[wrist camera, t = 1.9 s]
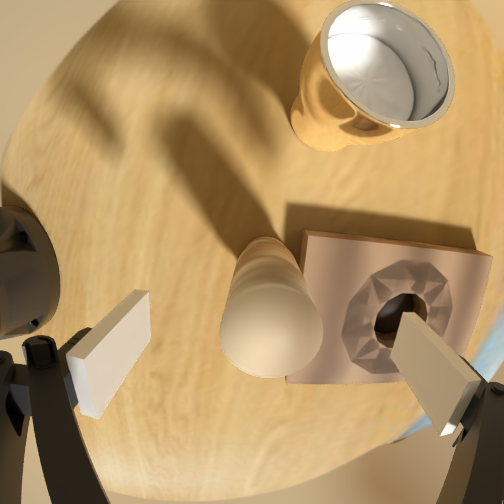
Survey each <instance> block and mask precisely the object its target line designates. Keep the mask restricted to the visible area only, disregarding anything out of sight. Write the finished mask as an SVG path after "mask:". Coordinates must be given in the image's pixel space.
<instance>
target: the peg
mask: <svg viewBox="0 0 504 504" xmlns="http://www.w3.org/2000/svg"><path fill="white" fill-rule="evenodd" d="M219 335H220V343H221V346H222V349H223V351H224V353H225V355H226V357H227V358H228V359H229V360H230V362H231V363H232V364H233V365H235V366H236V367H237V368H238V369H240V370H242V371H243V372H245V373H247V374H250V375H253V376H257V377H262V378H278V377H283V376H287V375H290V374H293V373H295V372H297V371H299V370H300V369H302V368H303V367H305V366H306V365H307V364H308V363H309V362H310V361H312V359H313V358H314V357H315V356H316V354H317V352H318V351H319V348H320V346H321V343H322V340H323V324H322V320H321V317H320V315H319V312H318V310H317V308H316V305H315V303H314V301H313V298H312V296H311V294H310V291H309V289H308V287H307V285H306V282H305V280H304V278H303V276H302V273H301V271H300V269H299V267H298V264H297V262H296V260H295V258H294V256H293V254H292V253H291V252H290V251H289V250H288V249H287V248H286V247H285V245H284V244H283V243H282V242H281V241H279V240H278V239H276V238H273V237H269V236H262V237H258V238H255V239H254V240H252V241H251V242H249V243H248V244H247V246H246V247H245V249H244V251H243V252H242V253H241V255H240V256H239V258H238V260H237V263H236V267H235V271H234V275H233V279H232V282H231V286H230V290H229V294H228V298H227V302H226V305H225V309H224V313H223V317H222V321H221V325H220V332H219Z"/></svg>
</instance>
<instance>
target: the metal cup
mask: <svg viewBox="0 0 504 504" xmlns="http://www.w3.org/2000/svg"><path fill="white" fill-rule="evenodd" d="M454 90H455V75H454V69H453V65H452V62H451V59H450V56H449V54H448V52H447V50H446V48H445V46H444V44H443V42H442V41H441V39H440V38H439V37H438V35H437V34H436V33H435V32H434V30H433V29H432V28H431V27H430V26H429V25H428V24H427V23H426V22H425V21H424V20H422V19H421V18H420V17H419V16H417V15H416V14H415V13H413V12H412V11H410V10H408V9H406V8H405V7H402V6H400V5H398V4H396V3H393V2H390V1H386V0H351V1H348V2H345V3H343V4H341V5H340V6H338V7H337V8H335V9H334V10H333V11H332V12H331V13H330V14H329V15H328V17H327V18H326V20H325V22H324V24H323V26H322V28H321V29H320V31H319V32H318V34H317V35H316V37H315V38H314V40H313V42H312V43H311V45H310V47H309V49H308V51H307V54H306V56H305V58H304V61H303V65H302V68H301V72H300V80H299V93H300V94H299V95H298V96H297V97H296V99H295V100H294V102H293V105H292V107H291V113H290V119H291V124H292V127H293V130H294V132H295V133H296V135H297V136H298V138H299V139H300V140H301V141H302V142H303V143H305V144H306V145H307V146H309V147H311V148H313V149H315V150H319V151H324V152H331V151H336V150H340V149H342V148H344V147H345V146H347V145H348V144H353V145H372V144H378V143H383V142H388V141H391V140H394V139H397V138H400V137H402V136H405V135H407V134H409V133H411V132H414V131H416V130H418V129H420V128H423V127H426V126H429V125H431V124H433V123H435V122H436V121H438V120H439V119H440V118H441V117H442V116H443V115H444V114H445V113H446V111H447V110H448V108H449V107H450V105H451V102H452V99H453V96H454Z"/></svg>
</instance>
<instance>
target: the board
mask: <svg viewBox="0 0 504 504" xmlns="http://www.w3.org/2000/svg"><path fill="white" fill-rule="evenodd" d="M492 260H493V257H492V256H490V255H488V254H485V253H483V252H480V251H478V250H472V249H465V248H458V247H450V246H443V245H435V244H428V243H420V242H412V241H404V240H395V239H387V238H378V237H370V236H361V235H352V234H343V233H333V232H324V231H314V230H304V229H303V234H302V243H301V251H300V259H299V269H300V271H301V273H302V276H303V278H304V280H305V282H306V285H307V287H308V289H309V291H310V294H311V296H312V298H313V301H314V303H315V305H316V308H317V310H318V312H319V315H320V317H321V320H322V324H323V340H322V343H321V346H320V348H319V351H318V352H317V354H316V356H315V357H314V358H313V359H312V361H310V362H309V363H308V364H307V365H306V366H305V367H303V368H302V369H300V370H299V371H297V372H295V373H293V374H290V375H287V376H285V380H286V383H290V384H370V383H390V382H404V381H406V380H405V379H404V377H403V376H402V374H401V373H400V371H399V370H398V368H397V367H396V365H395V363H394V362H393V360H392V359H391V357H390V355H391V352H392V349H393V346H394V342H395V339H396V336H397V332H398V328H399V325H400V321H401V317H402V314H403V312H415V313H416V314H417V315H418V316H419V317H420V318H421V319H422V320H423V321H424V322H425V323H426V324H427V325H428V326H429V327H430V328H431V329H432V330H433V331H434V332H436V333H437V334H438V335H439V336H440V337H441V338H442V339H443V340H444V341H445V342H446V343H447V344H448V345H449V346H450V347H451V348H452V349H453V350H454V351H455V352H456V353H457V354H458V355H460V356H461V357H464V354H465V352H466V349H467V346H468V344H469V341H470V338H471V335H472V332H473V330H474V327H475V324H476V320H477V317H478V314H479V311H480V308H481V304H482V301H483V297H484V293H485V290H486V286H487V282H488V278H489V274H490V269H491V265H492ZM411 293H412V294H413V297H412V294H411ZM413 298H414V302H415V304H414V308H413ZM412 310H413V311H412ZM374 331H376V332H378V333H391V332H393V333H391V334H377V333H376V332H374Z"/></svg>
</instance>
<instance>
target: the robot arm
mask: <svg viewBox="0 0 504 504" xmlns="http://www.w3.org/2000/svg"><path fill="white" fill-rule="evenodd" d="M59 297H60V276H59V269H58V264H57V260H56V256H55V253H54V250H53V248H52V245H51V243H50V241H49V239H48V237H47V235H46V233H45V231H44V230H43V228H42V227H41V225H40V224H39V223H38V221H37V220H36V219H35V218H34V217H33V216H32V215H31V214H30V213H28V212H27V211H26V210H24V209H22V208H20V207H17V206H3V207H0V340H2V339H7V338H12V337H17V336H22V335H27V334H31V333H33V332H35V331H37V330H38V329H40V328H41V327H42V326H44V325H45V324H46V323H47V322H49V321H50V320H51V318H52V317H53V315H54V314H55V312H56V309H57V306H58V302H59ZM150 340H151V331H150V309H149V291H143V290H136V289H135V290H134V291H133V292H132V293H131V294H129V295H128V296H127V297H126V298H125V299H124V300H123V301H122V302H121V303H120V304H118V305H117V306H116V307H115V308H114V309H113V310H112V311H111V312H110V313H109V314H108V315H107V316H105V317H104V318H103V319H102V320H101V321H100V322H99V323H98V324H97V325H96V326H95V327H94V328H89V327H87V328H85V329H83V330H81V331H78V332H77V333H76V334H75V335H74V336H73V337H72V338H71V339H69V340H68V341H67V343H65V344H64V345H63V346H62V347H61V348H60V349H59V350H57V347H56V343H55V341H54V339H53V338H51V337H49V336H45V335H37V336H33V337H30V338H28V339H26V340H25V341H24V342H23V344H22V349H23V353H24V357H25V360H26V364H27V365H23V364H15V363H14V362H13V358H12V356H11V354H10V353H9V352H6V351H0V504H21V489H22V474H23V463H24V453H25V446H26V439H27V432H28V425H29V420H30V416H32V419H33V425H34V432H35V437H36V443H37V448H38V452H39V457H40V462H41V466H42V470H43V474H44V478H45V482H46V485H47V489H48V492H49V496H50V499H51V502H52V504H111V503H110V501H109V499H108V497H107V495H106V493H105V491H104V489H103V486H102V484H101V482H100V480H99V478H98V475H97V473H96V471H95V468H94V466H93V463H92V461H91V458H90V456H89V453H88V451H87V448H86V445H85V443H84V440H83V437H82V434H81V431H80V429H79V426H78V423H77V419H76V416H75V413H74V410H73V409H74V408H75V406H76V405H77V404H78V405H79V408H80V411H81V414H83V415H86V416H89V417H92V418H95V419H98V420H99V418H100V416H101V415H102V413H103V412H104V410H105V408H106V407H107V405H108V404H109V402H110V401H111V399H112V398H113V396H114V394H115V393H116V391H117V390H118V388H119V387H120V385H121V384H122V382H123V381H124V379H125V377H126V376H127V374H128V373H129V371H130V370H131V368H132V367H133V365H134V364H135V362H136V361H137V359H138V358H139V356H140V355H141V353H142V352H143V350H144V349H145V347H146V346H147V344H148V343H149V341H150ZM390 357H391V359H392V360H393V362H394V363H395V365H396V367H397V368H398V370H399V371H400V373H401V374H402V376H403V377H404V379H405V380H406V382H407V384H408V385H409V387H410V388H411V390H412V391H413V393H414V395H415V396H416V398H417V399H418V401H419V403H420V404H421V406H422V407H423V409H424V411H425V412H426V414H427V415H428V417H429V419H430V420H431V422H432V424H433V425H434V427H435V429H436V430H437V432H438V434H439V435H440V436H442V435H446V434H451V433H454V431H455V430H456V428H457V426H458V424H459V423H460V422H461V424H462V425H463V427H464V428H463V429H462V431H461V433H460V434H459V436H458V438H457V439H456V441H455V442H454V444H453V445H452V447H454V446H455V445H456V444H457V446H456V449H455V452H454V456H453V459H452V462H451V465H450V468H449V471H448V474H447V477H446V479H445V482H444V485H443V487H442V490H441V493H440V495H439V498H438V500H437V502H436V504H502V500H503V504H504V385H503V384H500V383H497V382H489V383H488V382H487V381H486V380H485V379H484V378H483V377H482V376H481V375H480V374H479V373H478V372H477V371H476V370H474V368H473V367H472V366H471V365H470V364H469V363H468V362H467V360H466V359H465V358H463V357H461V356H460V355H458V354H457V353H456V352H455V351H454V350H453V349H452V348H451V347H450V346H449V345H448V344H447V343H446V342H445V341H444V340H443V339H442V338H441V337H440V336H439V335H438V334H437V333H436V332H434V331H433V330H432V329H431V328H430V327H429V326H428V325H427V324H426V323H425V322H424V321H423V320H422V319H421V318H420V317H419V316H418V315H417V314H416V313H415V312H403V314H402V317H401V321H400V325H399V328H398V332H397V336H396V339H395V342H394V346H393V349H392V352H391V355H390Z"/></svg>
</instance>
